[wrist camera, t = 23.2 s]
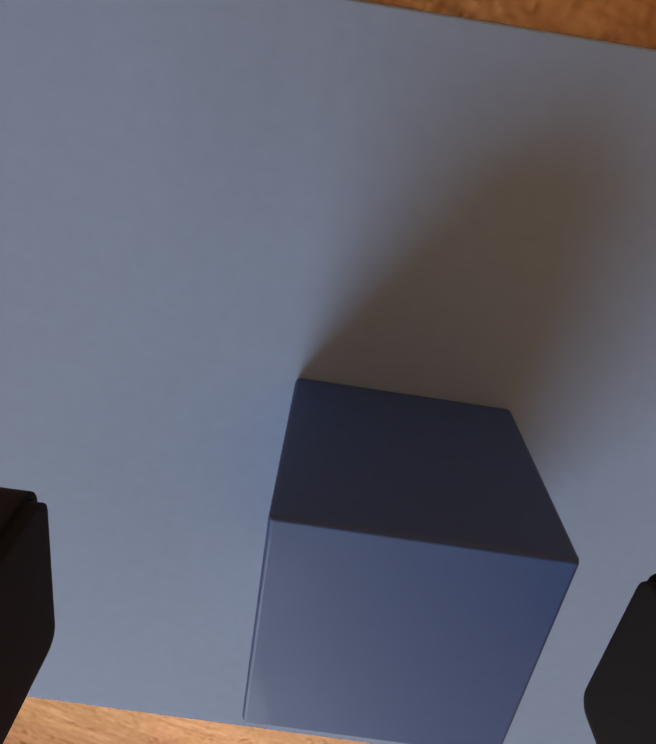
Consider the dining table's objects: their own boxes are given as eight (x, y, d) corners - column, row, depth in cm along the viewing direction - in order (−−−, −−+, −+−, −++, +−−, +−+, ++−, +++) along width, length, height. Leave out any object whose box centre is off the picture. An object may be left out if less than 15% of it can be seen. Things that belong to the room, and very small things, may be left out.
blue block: (272, 544, 16) (241, 724, 12) (296, 375, 14) (268, 516, 10) (459, 571, 16) (498, 758, 12) (510, 408, 14) (582, 561, 10)
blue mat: (20, 672, 20) (8, 694, 19) (-55, -65, 11) (-83, -75, 11) (621, 754, 20) (632, 779, 20) (986, 108, 12) (1027, 110, 11)
